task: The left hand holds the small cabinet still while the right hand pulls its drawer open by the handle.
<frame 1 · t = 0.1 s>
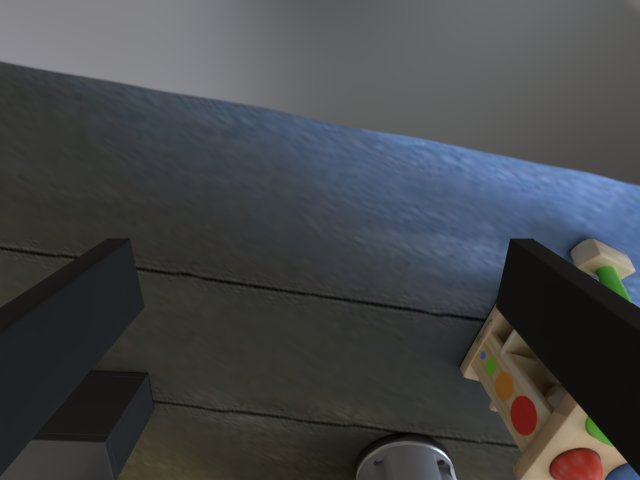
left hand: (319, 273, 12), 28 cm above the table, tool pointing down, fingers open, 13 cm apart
cabinet: (89, 389, 51), on the table
pounding bench toy: (544, 314, 46), on the table
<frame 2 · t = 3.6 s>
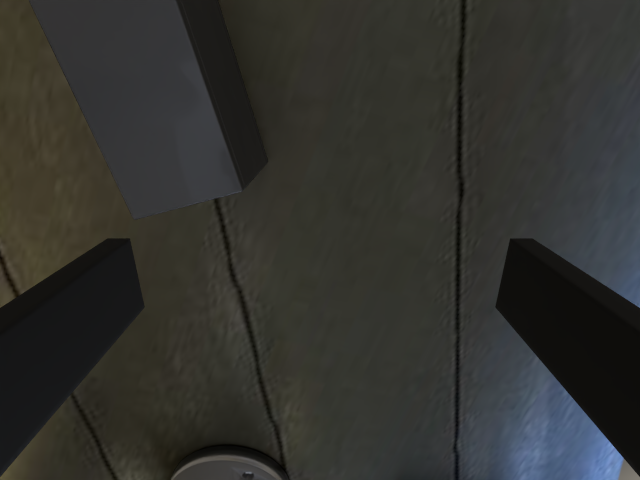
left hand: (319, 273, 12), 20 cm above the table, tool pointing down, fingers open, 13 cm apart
cabinet: (191, 61, 27), on the table
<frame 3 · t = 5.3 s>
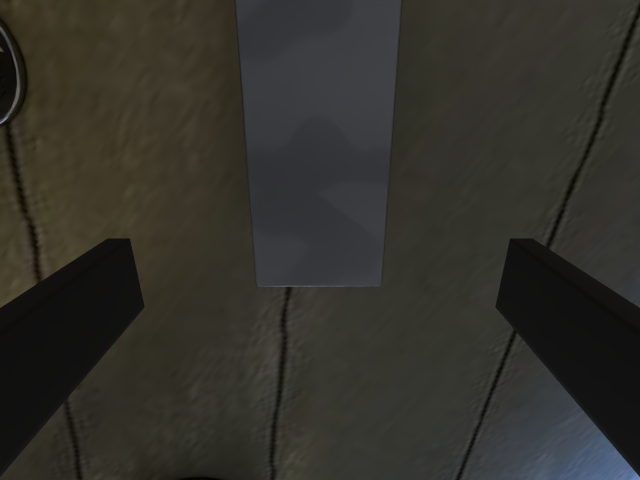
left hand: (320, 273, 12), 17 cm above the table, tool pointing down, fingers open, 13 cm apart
cabinet: (318, 108, 26), on the table
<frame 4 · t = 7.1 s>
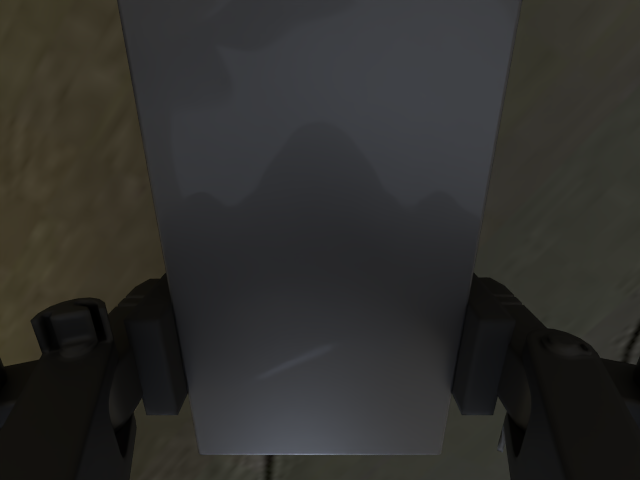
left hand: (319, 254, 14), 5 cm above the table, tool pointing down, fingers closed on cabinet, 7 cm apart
cabinet: (319, 109, 17), on the table, touching left hand
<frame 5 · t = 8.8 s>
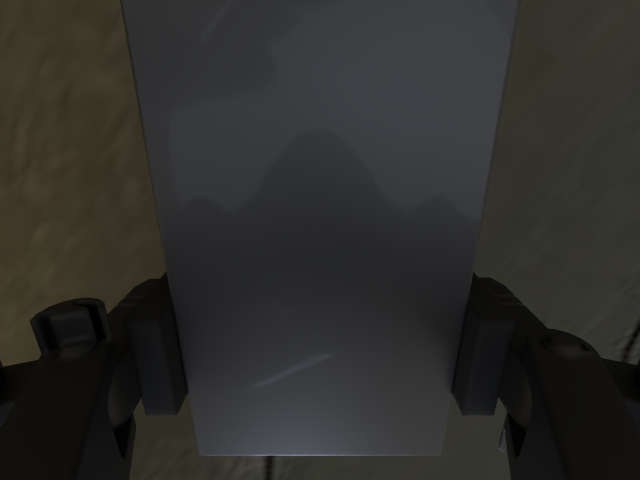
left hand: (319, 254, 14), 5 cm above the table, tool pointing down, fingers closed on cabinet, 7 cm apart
cabinet: (319, 111, 17), on the table, touching left hand
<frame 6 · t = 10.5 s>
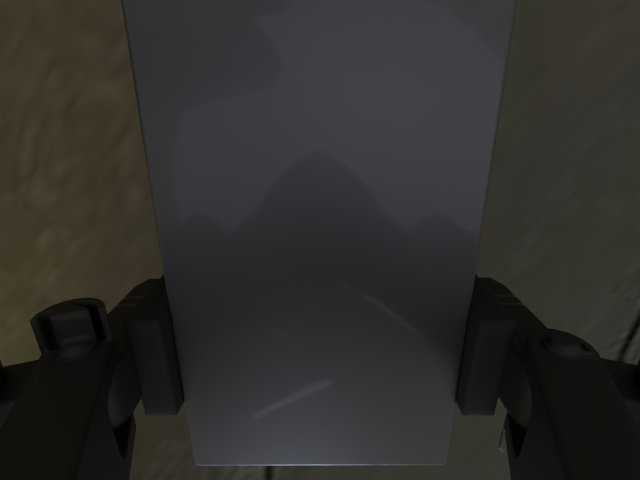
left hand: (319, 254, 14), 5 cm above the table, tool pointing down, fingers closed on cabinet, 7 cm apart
cabinet: (319, 119, 17), on the table, touching left hand
when the left hand's fingers open (5 cm above the table, at t = 11.9 s): cabinet stays where it is, on the table.
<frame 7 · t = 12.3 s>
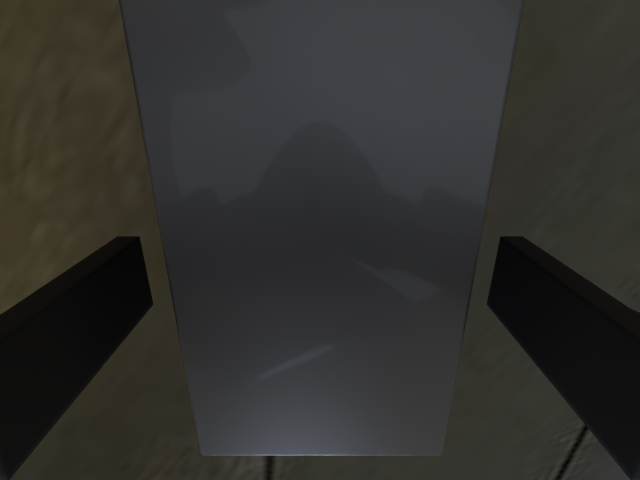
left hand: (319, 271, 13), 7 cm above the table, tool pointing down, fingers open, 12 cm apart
cabinet: (320, 109, 17), on the table
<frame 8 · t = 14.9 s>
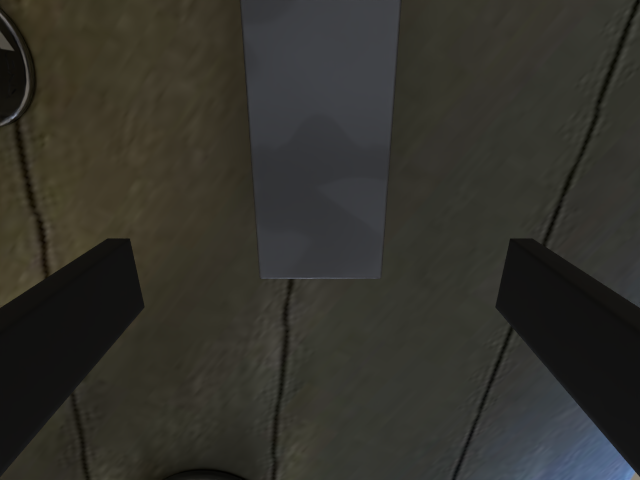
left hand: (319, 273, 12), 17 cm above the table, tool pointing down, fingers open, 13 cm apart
cabinet: (320, 106, 27), on the table
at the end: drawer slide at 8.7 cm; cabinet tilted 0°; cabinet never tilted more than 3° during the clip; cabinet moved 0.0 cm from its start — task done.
